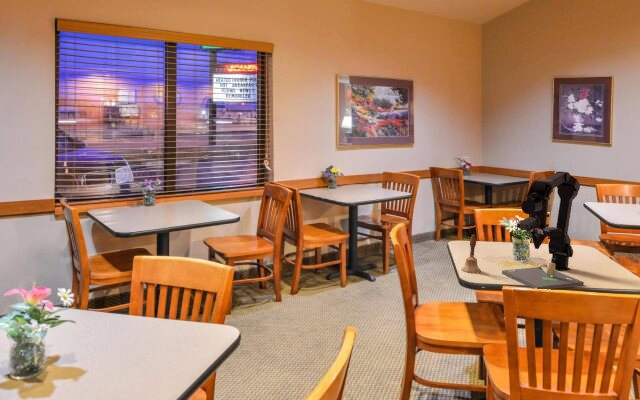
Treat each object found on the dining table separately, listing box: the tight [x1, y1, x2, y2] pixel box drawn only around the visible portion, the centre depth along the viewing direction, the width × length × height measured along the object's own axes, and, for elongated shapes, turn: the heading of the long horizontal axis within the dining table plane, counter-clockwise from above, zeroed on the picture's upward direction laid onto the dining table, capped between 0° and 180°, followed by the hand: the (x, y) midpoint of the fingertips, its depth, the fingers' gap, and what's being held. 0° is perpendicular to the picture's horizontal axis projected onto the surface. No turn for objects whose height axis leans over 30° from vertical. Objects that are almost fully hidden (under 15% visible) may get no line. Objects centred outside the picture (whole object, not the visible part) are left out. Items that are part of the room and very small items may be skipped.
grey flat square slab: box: [501, 266, 585, 290], centre depth 211 cm, size 22×22×2 cm
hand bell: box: [460, 234, 482, 274], centre depth 221 cm, size 8×8×16 cm
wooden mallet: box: [537, 262, 556, 277], centre depth 215 cm, size 16×4×5 cm, turn 171°
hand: (536, 248), depth 209 cm, fingers closed
